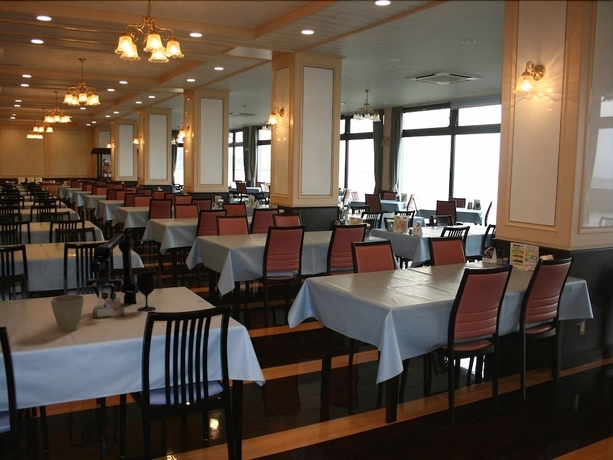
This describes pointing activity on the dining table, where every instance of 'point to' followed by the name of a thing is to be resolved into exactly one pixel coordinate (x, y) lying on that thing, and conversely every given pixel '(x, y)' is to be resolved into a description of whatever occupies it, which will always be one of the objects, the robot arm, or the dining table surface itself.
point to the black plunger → (104, 297)
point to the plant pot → (67, 311)
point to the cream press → (105, 310)
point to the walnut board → (116, 313)
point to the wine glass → (146, 288)
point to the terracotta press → (114, 303)
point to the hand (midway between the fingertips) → (105, 297)
